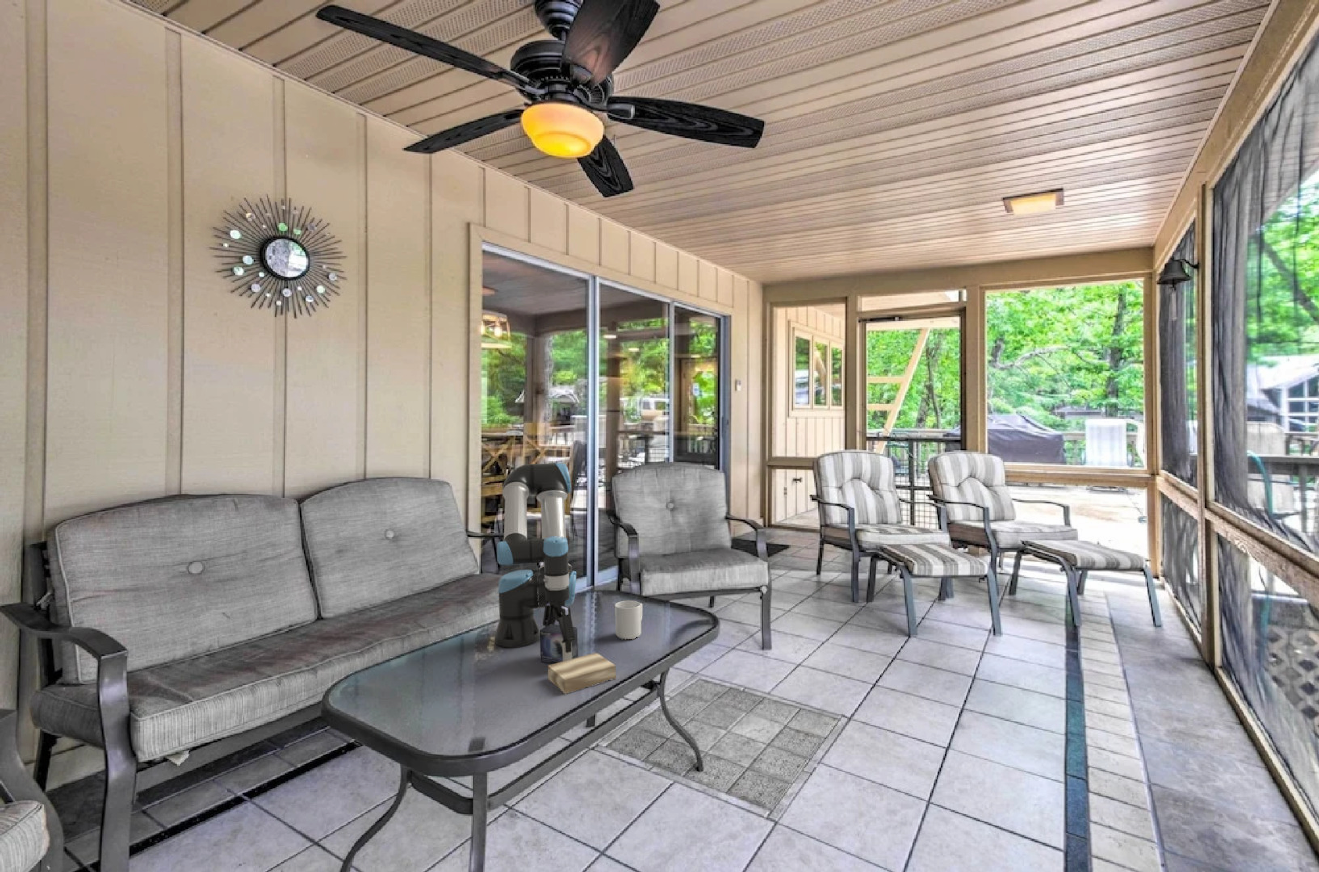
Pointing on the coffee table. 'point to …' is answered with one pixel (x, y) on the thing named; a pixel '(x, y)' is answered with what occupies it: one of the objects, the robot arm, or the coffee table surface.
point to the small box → (555, 644)
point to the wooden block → (581, 672)
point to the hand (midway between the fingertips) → (559, 655)
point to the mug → (628, 619)
